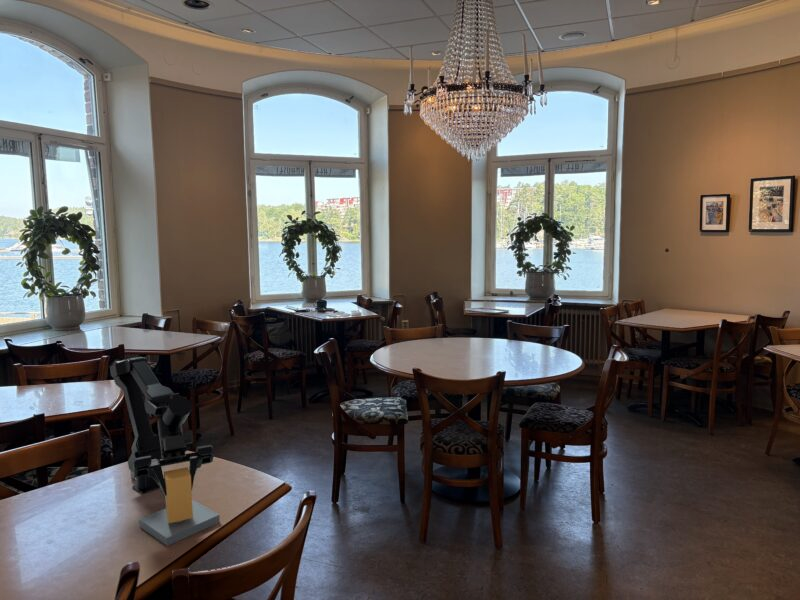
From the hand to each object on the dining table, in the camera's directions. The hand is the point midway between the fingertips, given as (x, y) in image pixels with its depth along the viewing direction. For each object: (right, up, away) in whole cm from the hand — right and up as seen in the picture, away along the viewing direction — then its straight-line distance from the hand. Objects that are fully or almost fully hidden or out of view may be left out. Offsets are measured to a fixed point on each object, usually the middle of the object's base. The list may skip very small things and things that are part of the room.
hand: (178, 492), depth 135 cm
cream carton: (-1, -6, +2) cm, 7 cm away
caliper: (-25, -6, +40) cm, 48 cm away
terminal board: (-1, -10, +4) cm, 11 cm away
